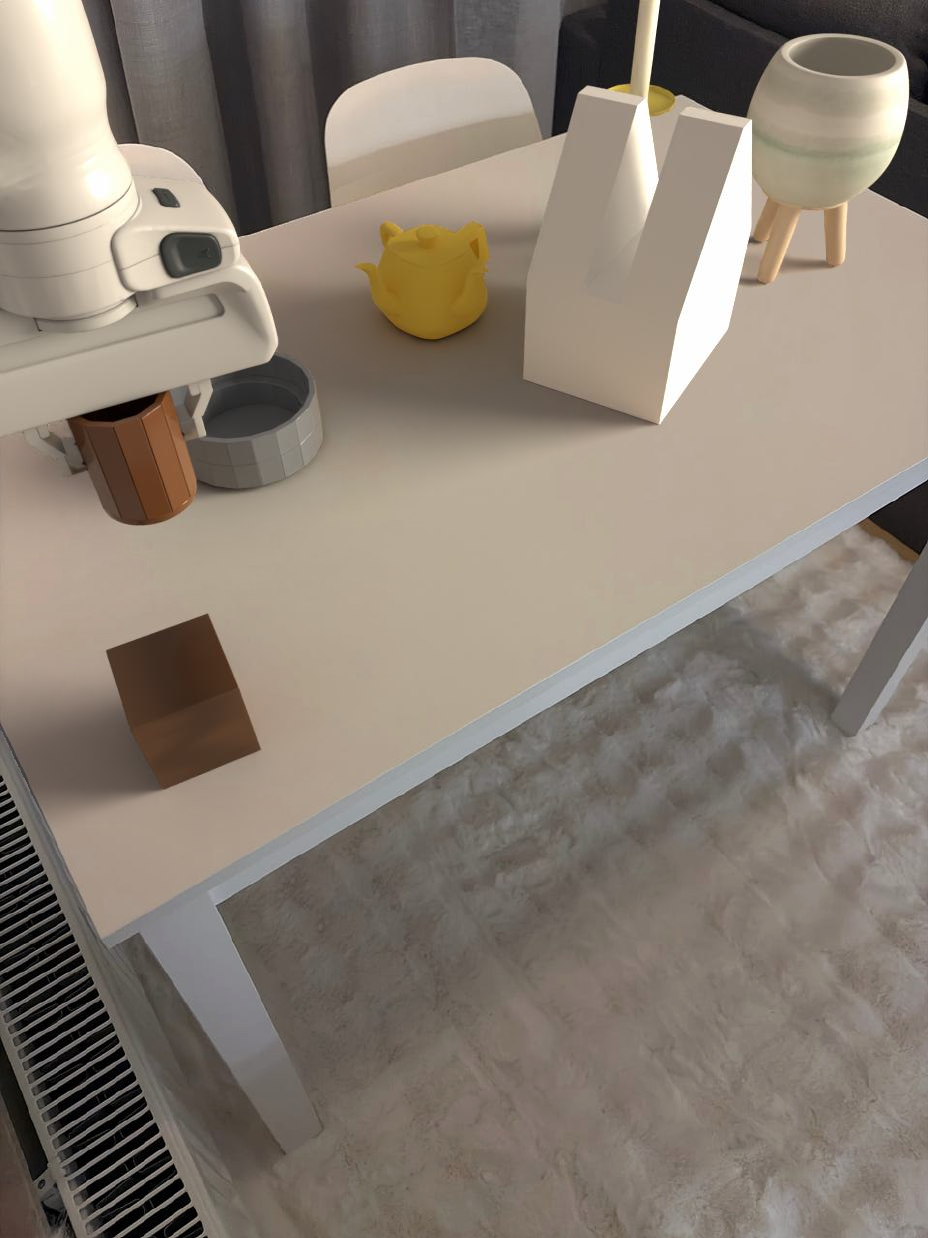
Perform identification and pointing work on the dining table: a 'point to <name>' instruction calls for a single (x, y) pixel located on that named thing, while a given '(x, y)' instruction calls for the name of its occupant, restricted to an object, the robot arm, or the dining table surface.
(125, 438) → the cup
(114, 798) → the dining table surface
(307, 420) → the grey round tub
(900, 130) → the planter
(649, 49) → the candle
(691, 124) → the white v-notched block
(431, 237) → the teapot
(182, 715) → the stand
